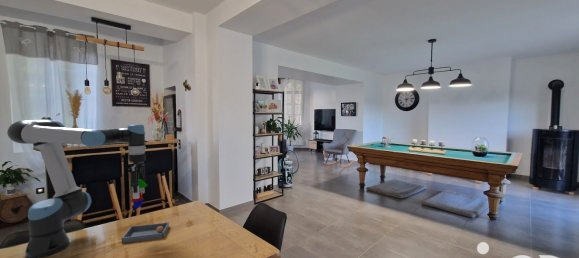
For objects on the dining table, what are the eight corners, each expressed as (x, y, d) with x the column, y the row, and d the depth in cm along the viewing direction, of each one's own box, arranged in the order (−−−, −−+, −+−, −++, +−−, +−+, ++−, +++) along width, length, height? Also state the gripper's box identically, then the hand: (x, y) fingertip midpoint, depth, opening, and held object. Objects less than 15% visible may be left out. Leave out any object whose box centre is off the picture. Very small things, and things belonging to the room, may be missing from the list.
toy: (142, 209, 125) (141, 181, 124) (127, 209, 125) (126, 181, 124) (151, 204, 133) (150, 177, 132) (137, 204, 133) (136, 177, 132)
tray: (121, 244, 122) (121, 238, 122) (131, 231, 135) (131, 226, 135) (163, 238, 127) (163, 233, 127) (168, 227, 140) (168, 222, 140)
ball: (155, 234, 131) (155, 228, 130) (157, 231, 134) (157, 225, 134) (162, 233, 131) (162, 227, 131) (164, 230, 135) (164, 224, 135)
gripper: (138, 156, 118) (140, 201, 120) (150, 150, 138) (152, 189, 140) (121, 157, 116) (123, 203, 118) (136, 150, 136) (137, 190, 138)
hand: (139, 195), depth 129 cm, fingers closed on toy, 8 cm apart
